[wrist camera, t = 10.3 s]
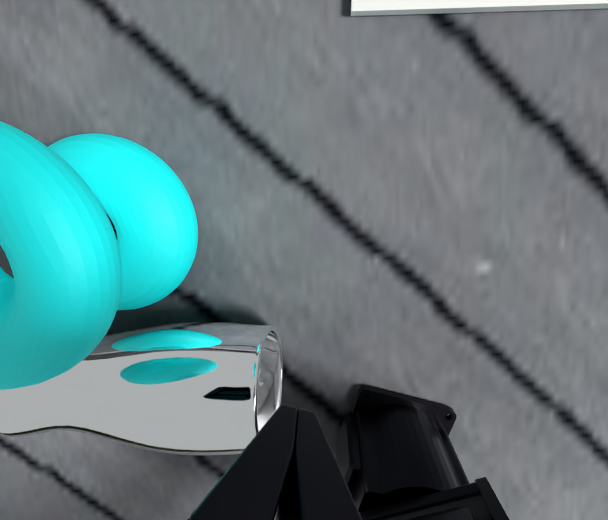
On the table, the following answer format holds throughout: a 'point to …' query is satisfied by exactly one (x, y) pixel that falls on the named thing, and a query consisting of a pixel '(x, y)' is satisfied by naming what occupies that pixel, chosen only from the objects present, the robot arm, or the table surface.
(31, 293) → the donuts
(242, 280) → the table surface
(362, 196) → the table surface
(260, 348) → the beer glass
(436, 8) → the white mat
